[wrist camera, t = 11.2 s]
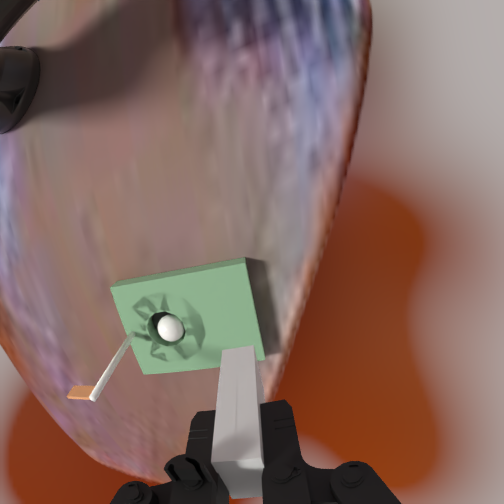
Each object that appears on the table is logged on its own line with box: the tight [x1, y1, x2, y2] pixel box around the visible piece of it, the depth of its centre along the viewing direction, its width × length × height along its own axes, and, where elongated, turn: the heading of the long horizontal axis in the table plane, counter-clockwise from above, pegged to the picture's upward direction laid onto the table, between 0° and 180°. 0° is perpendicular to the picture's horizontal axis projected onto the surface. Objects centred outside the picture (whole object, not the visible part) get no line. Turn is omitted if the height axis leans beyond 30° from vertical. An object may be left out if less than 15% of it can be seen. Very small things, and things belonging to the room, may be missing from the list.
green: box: [67, 257, 265, 402], centre depth 31 cm, size 21×14×16 cm
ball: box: [158, 315, 184, 341], centre depth 38 cm, size 4×4×4 cm
